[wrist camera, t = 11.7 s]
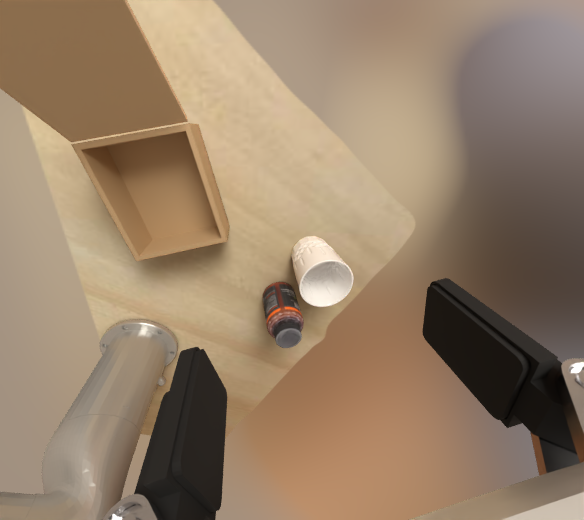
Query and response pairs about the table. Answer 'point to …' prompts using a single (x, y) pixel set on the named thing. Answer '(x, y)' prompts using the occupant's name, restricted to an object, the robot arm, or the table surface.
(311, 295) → the white cup
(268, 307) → the supplement bottle
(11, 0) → the cardboard box lid
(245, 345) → the table surface
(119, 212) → the carton
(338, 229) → the table surface
